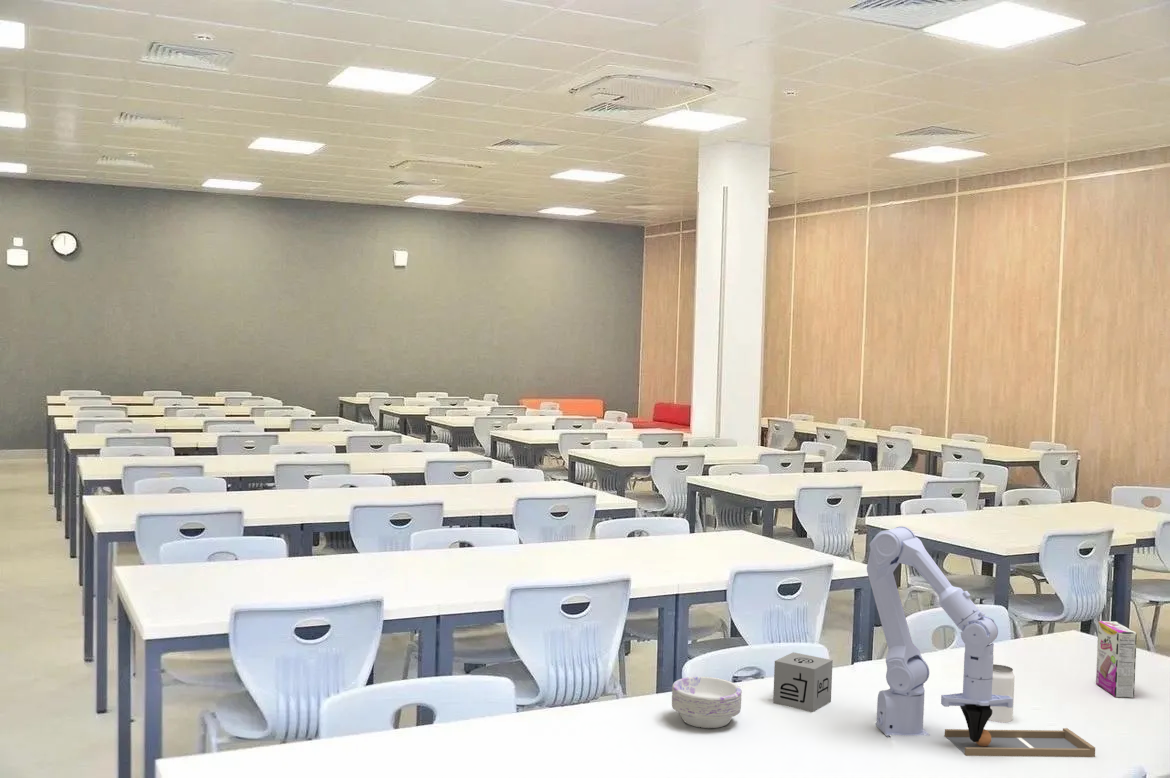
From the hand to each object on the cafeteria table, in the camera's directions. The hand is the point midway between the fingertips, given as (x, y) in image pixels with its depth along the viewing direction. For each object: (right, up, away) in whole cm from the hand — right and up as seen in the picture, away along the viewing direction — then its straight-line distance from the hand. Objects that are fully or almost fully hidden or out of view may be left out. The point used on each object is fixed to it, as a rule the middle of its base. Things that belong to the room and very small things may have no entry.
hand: (975, 740), depth 231 cm
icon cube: (-31, 0, +28) cm, 41 cm away
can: (+12, -2, +19) cm, 22 cm away
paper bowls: (-55, 0, +12) cm, 56 cm away
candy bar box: (+50, -2, +44) cm, 67 cm away
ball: (+3, 0, 0) cm, 3 cm away
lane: (+9, -2, +1) cm, 9 cm away
